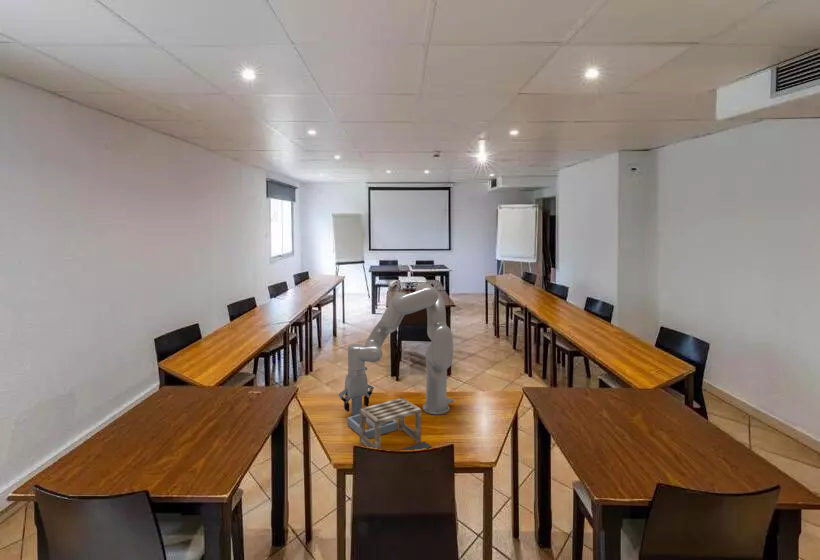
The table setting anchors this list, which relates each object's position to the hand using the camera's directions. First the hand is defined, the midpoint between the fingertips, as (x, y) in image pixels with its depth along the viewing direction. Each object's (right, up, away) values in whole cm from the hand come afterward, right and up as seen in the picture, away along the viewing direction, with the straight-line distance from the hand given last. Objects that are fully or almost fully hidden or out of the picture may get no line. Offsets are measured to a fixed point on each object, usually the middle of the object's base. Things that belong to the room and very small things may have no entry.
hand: (356, 408), depth 192 cm
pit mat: (+26, -7, -29) cm, 40 cm away
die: (+10, -5, -13) cm, 18 cm away
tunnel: (+16, -6, -23) cm, 29 cm away
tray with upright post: (+6, -4, -8) cm, 11 cm away
